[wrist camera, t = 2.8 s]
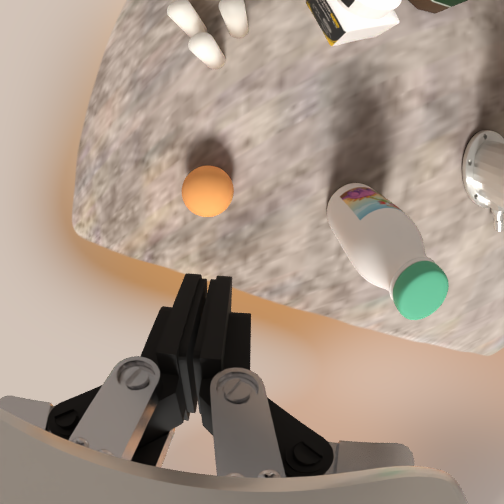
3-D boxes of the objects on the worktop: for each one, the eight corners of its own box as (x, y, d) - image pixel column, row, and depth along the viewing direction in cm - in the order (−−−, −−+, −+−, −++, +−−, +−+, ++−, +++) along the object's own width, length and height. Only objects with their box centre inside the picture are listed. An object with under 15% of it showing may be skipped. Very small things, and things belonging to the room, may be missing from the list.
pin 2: (252, 33, 26) (249, 8, 18) (234, 41, 26) (225, 18, 19) (243, 19, 25) (237, -9, 17) (225, 27, 26) (214, 2, 18)
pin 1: (210, 33, 26) (195, 10, 18) (193, 43, 27) (173, 22, 19) (201, 20, 25) (184, -5, 17) (184, 29, 26) (163, 7, 18)
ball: (244, 195, 35) (240, 209, 30) (203, 215, 37) (193, 233, 31) (221, 153, 33) (213, 160, 28) (180, 176, 34) (165, 187, 29)
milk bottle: (362, 245, 38) (425, 344, 20) (315, 223, 37) (359, 324, 19) (389, 197, 34) (479, 271, 16) (341, 171, 33) (420, 232, 15)
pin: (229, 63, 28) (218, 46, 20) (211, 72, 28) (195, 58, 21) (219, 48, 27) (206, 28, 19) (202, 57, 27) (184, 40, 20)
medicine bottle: (304, 2, 23) (322, -42, 13) (353, -7, 22) (386, -46, 11) (330, 47, 26) (361, 17, 15) (378, 36, 25) (423, 10, 14)
